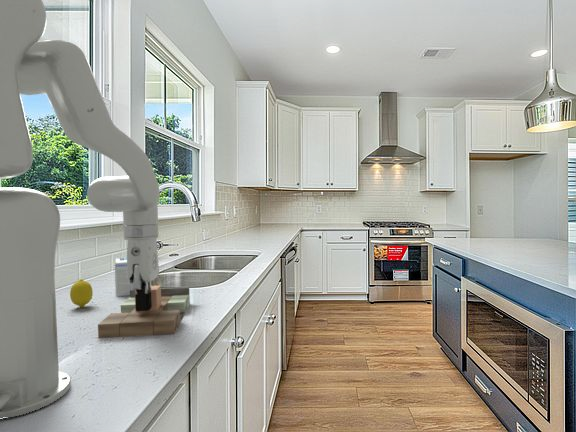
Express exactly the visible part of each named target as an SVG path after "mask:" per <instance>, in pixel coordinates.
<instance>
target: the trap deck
mask: <svg viewBox="0 0 576 432" xmlns="http://www.w3.org/2000/svg"><path fill="white" fill-rule="evenodd" d="M190 297H191V296H190V286H178V287H177V286H174V287H161V306H160V307H159V308H158V310H155V311H136V310H135V290H134V289H131V290H130V295H129V298H127V299H126V300H125V301H123V302H122V303H121V305H120V312H112V313H111V312H110V314H109V315H107V316H106V317H105V318H104V319H102V321H101V322H99V323H97V331H98V332H97V335H98V336H97V337H98V339H107V338H124V337H125V338H127V337H139V336H140V337H141V336H143V337H144V336H157V335H174V334H175V333H176V331H177V330H178V327H179V325H180V324H181V320H182V319H183V317H184V315H185V313H186V312H187V310H188V309H189V306H190V305H191V304H190V303H191V300H190V299H191V298H190Z"/></svg>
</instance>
